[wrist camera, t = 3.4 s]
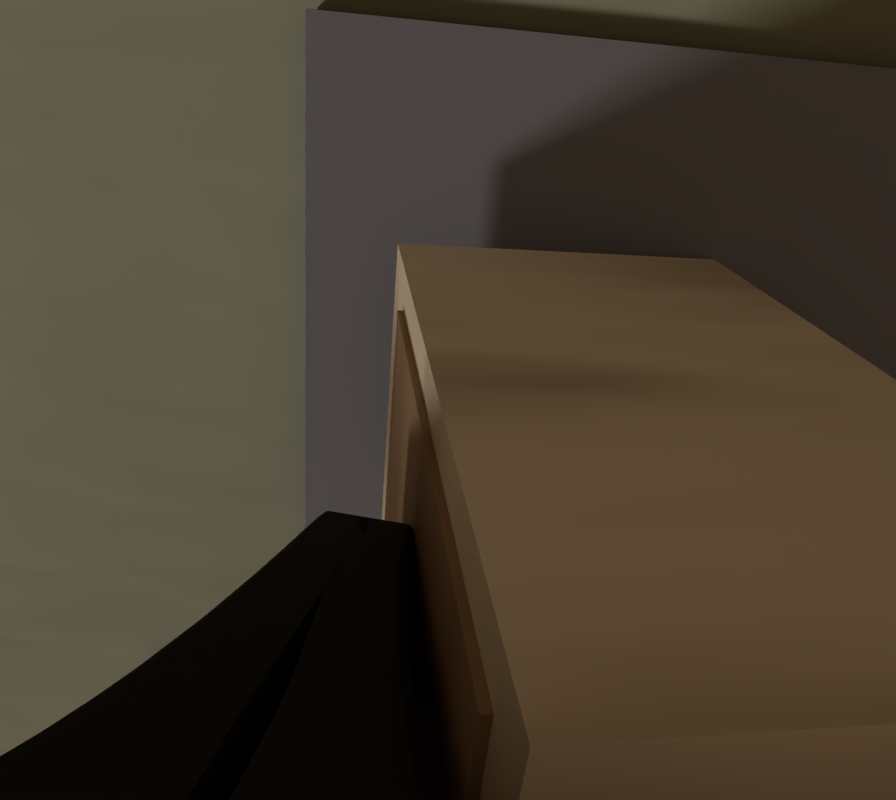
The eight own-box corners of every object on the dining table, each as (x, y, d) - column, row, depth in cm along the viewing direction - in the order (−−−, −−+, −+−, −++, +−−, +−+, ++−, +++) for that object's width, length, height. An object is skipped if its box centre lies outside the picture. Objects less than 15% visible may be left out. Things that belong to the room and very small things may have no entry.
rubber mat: (1164, 712, 17) (1179, 730, 17) (312, 562, 19) (305, 574, 19) (1617, 142, 11) (1659, 146, 11) (314, 9, 13) (305, 8, 13)
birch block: (645, 516, 17) (993, 1084, 8) (376, 518, 16) (429, 1171, 7) (714, 259, 14) (1370, 694, 5) (392, 243, 13) (512, 748, 4)
